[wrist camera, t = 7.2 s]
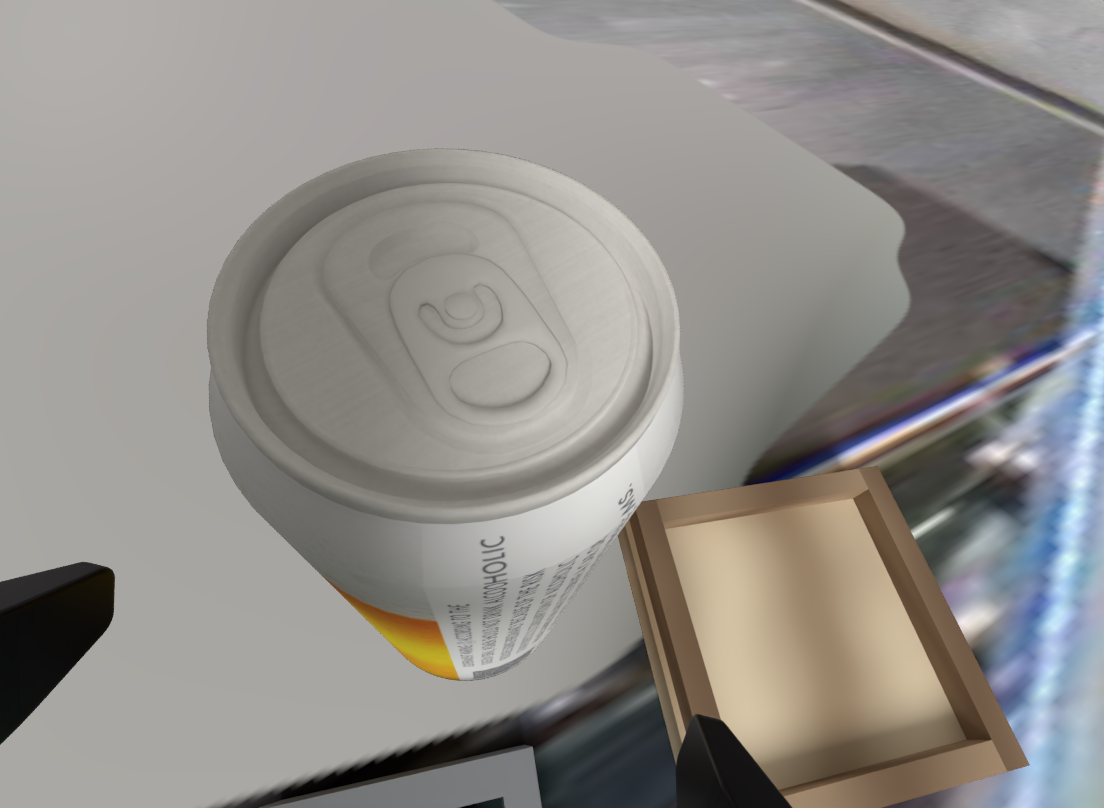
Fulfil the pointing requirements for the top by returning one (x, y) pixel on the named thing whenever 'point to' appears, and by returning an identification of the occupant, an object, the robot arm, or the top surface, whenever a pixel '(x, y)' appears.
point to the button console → (439, 785)
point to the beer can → (446, 391)
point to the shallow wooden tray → (813, 640)
